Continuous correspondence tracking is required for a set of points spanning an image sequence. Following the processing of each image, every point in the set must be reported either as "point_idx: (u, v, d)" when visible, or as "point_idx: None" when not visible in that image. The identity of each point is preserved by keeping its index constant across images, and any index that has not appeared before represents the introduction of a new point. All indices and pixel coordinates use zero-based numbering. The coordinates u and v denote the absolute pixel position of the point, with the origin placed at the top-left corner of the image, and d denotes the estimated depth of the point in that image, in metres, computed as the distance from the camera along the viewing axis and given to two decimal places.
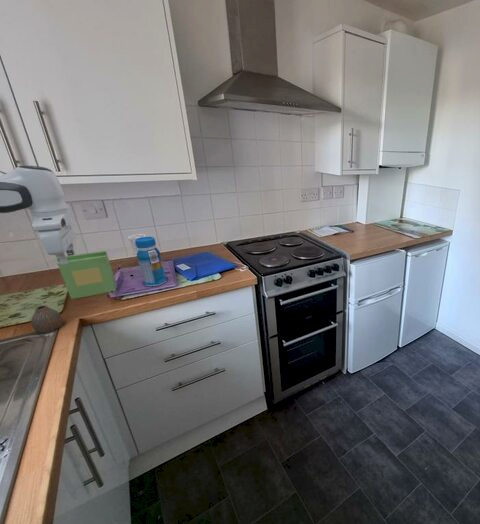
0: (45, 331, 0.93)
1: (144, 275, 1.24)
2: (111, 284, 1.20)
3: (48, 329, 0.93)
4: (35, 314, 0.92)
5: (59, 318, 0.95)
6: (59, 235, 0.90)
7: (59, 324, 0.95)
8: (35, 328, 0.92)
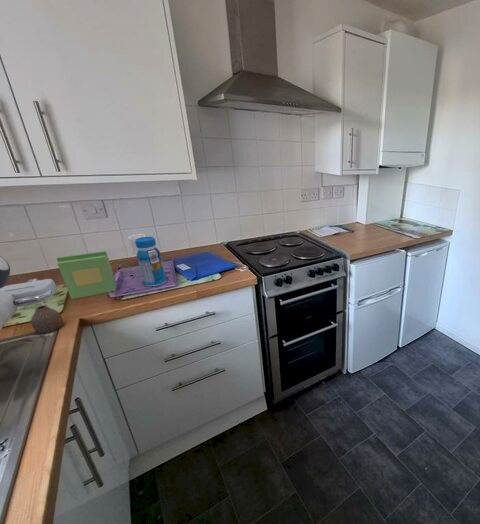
0: (45, 331, 0.93)
1: (144, 275, 1.24)
2: (111, 284, 1.20)
3: (48, 329, 0.93)
4: (35, 314, 0.92)
5: (59, 318, 0.95)
6: None
7: (59, 324, 0.95)
8: (35, 328, 0.92)
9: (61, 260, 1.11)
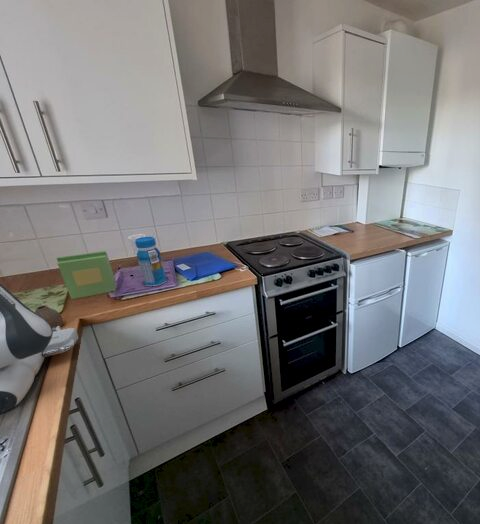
0: None
1: (144, 275, 1.24)
2: (111, 284, 1.20)
3: None
4: None
5: (59, 318, 0.95)
6: None
7: (59, 324, 0.95)
8: None
9: (61, 260, 1.11)
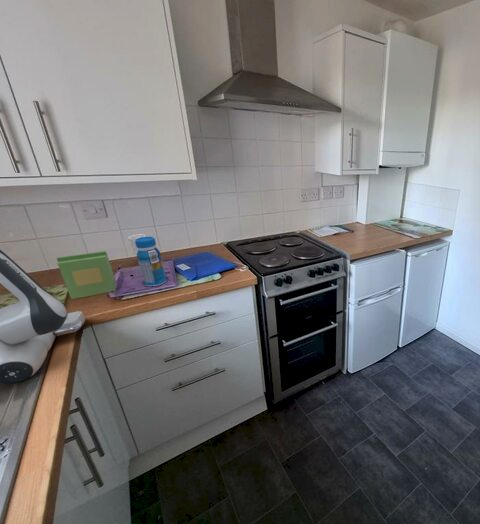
0: None
1: (144, 275, 1.24)
2: (111, 284, 1.20)
3: None
4: None
5: None
6: None
7: None
8: None
9: (61, 260, 1.11)
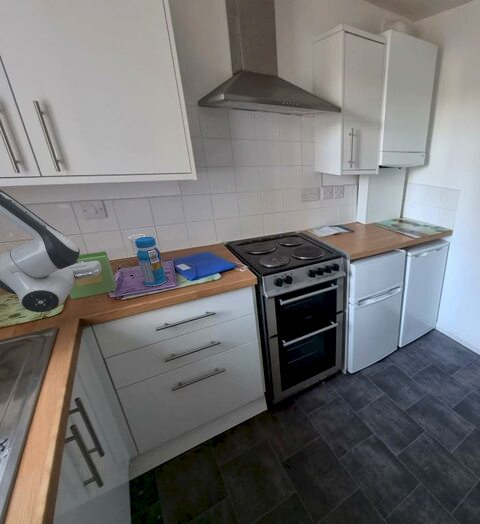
0: None
1: (144, 275, 1.24)
2: (111, 284, 1.20)
3: None
4: None
5: None
6: None
7: None
8: None
9: None
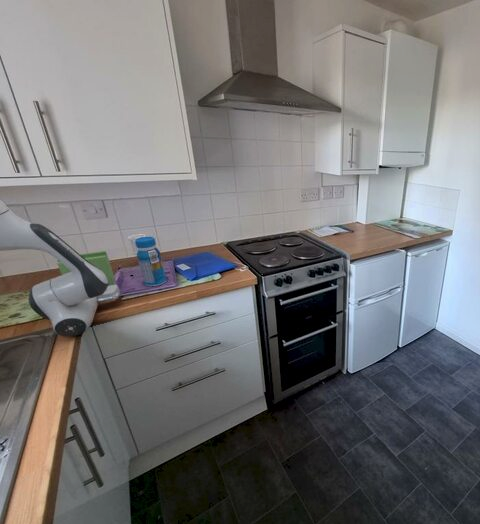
0: None
1: (144, 275, 1.24)
2: (111, 284, 1.20)
3: None
4: None
5: None
6: None
7: None
8: None
9: None
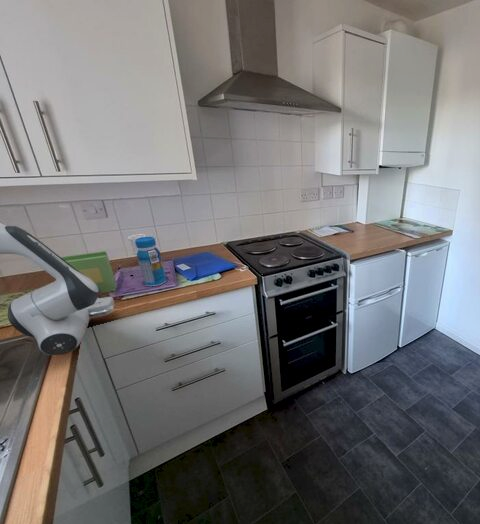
0: None
1: (144, 275, 1.24)
2: (111, 284, 1.20)
3: None
4: None
5: (99, 291, 1.13)
6: None
7: (99, 295, 1.13)
8: None
9: None
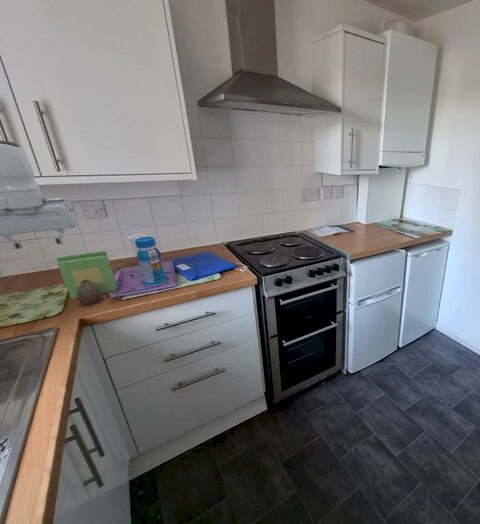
0: (88, 301, 1.10)
1: (144, 275, 1.24)
2: (111, 284, 1.20)
3: (90, 299, 1.10)
4: (80, 287, 1.09)
5: (99, 291, 1.13)
6: None
7: (99, 295, 1.13)
8: (80, 298, 1.09)
9: (61, 260, 1.11)
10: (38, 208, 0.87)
